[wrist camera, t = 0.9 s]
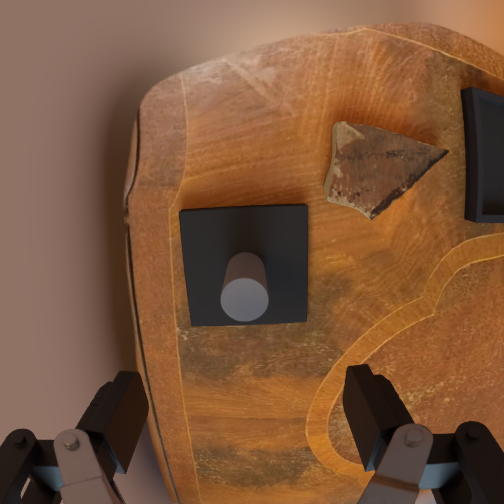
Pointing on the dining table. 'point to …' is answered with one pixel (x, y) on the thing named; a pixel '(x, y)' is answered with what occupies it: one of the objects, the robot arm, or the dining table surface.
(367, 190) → the shard
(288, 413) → the dining table surface
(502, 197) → the base pad
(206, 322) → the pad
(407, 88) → the dining table surface
